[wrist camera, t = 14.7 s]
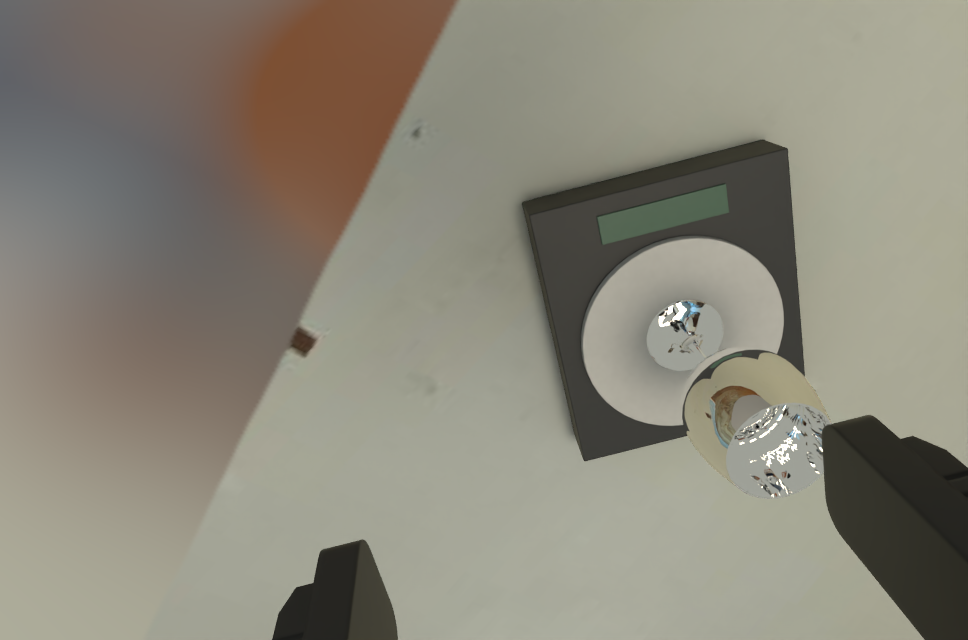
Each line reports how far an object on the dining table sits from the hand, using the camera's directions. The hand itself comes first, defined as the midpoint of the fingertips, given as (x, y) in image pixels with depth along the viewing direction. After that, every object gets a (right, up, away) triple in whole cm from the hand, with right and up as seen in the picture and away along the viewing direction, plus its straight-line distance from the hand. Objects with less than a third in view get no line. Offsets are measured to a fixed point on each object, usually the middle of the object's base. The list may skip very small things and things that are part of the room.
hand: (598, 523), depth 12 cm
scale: (+9, +5, +31) cm, 33 cm away
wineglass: (+9, +3, +29) cm, 30 cm away
